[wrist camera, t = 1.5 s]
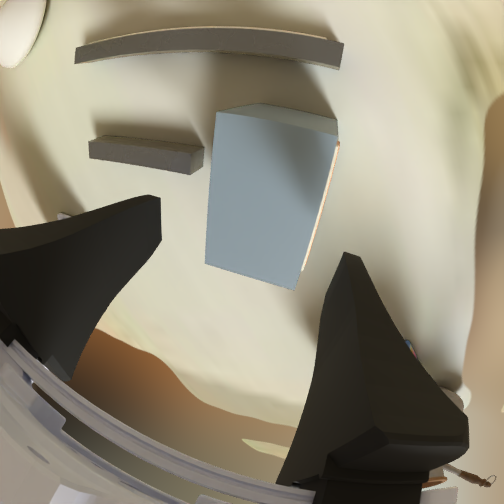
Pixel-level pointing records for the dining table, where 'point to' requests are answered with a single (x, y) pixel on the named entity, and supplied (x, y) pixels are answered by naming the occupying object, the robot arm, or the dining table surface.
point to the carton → (268, 190)
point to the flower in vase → (19, 29)
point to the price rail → (196, 40)
